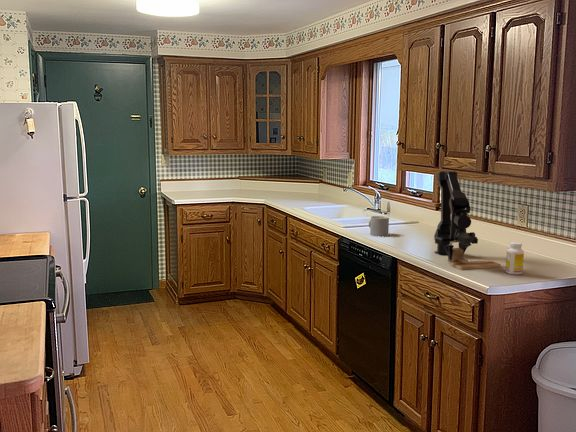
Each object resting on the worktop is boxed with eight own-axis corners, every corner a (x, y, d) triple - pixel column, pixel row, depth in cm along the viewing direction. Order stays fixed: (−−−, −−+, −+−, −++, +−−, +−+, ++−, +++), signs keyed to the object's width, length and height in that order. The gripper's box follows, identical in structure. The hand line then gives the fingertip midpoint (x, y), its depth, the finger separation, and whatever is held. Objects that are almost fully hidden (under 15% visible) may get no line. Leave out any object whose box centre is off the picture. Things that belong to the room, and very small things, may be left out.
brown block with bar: (447, 261, 265) (448, 248, 264) (457, 260, 267) (458, 247, 266) (461, 266, 256) (462, 252, 255) (471, 265, 257) (471, 252, 256)
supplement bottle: (524, 273, 249) (527, 243, 247) (518, 275, 244) (521, 245, 242) (509, 270, 253) (511, 240, 251) (502, 273, 248) (504, 242, 246)
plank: (450, 265, 260) (450, 262, 260) (488, 262, 267) (488, 260, 267) (461, 269, 253) (461, 266, 253) (500, 266, 259) (500, 264, 259)
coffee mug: (391, 236, 328) (392, 218, 327) (375, 237, 325) (376, 218, 323) (379, 231, 340) (380, 214, 339) (364, 232, 337) (364, 215, 335)
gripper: (449, 228, 251) (447, 264, 253) (486, 226, 257) (484, 262, 259) (435, 224, 261) (433, 259, 263) (471, 222, 267) (468, 256, 270)
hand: (455, 259), depth 264 cm, fingers closed on brown block with bar, 5 cm apart
